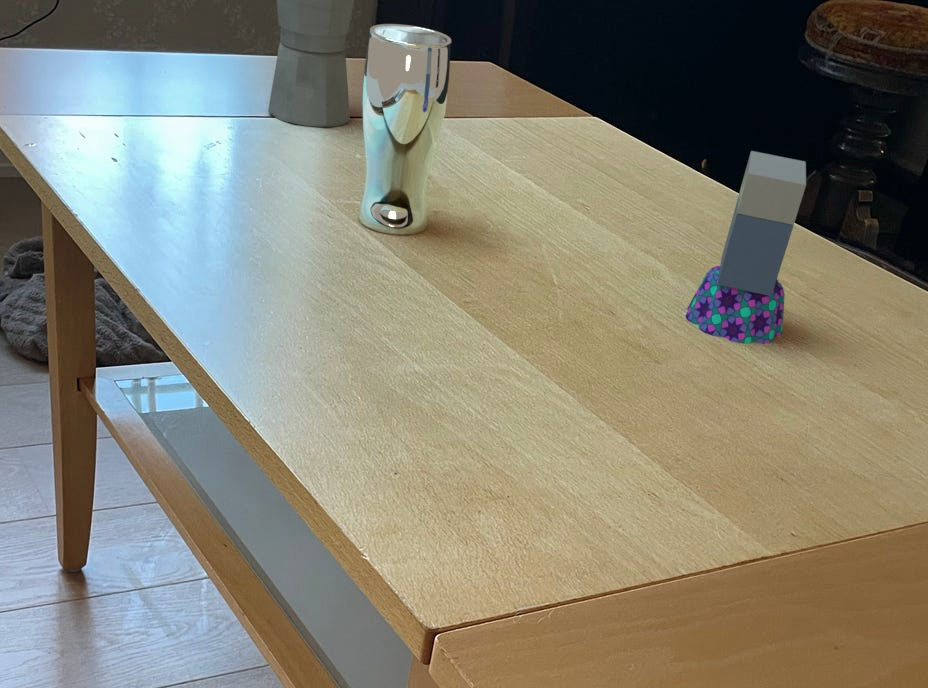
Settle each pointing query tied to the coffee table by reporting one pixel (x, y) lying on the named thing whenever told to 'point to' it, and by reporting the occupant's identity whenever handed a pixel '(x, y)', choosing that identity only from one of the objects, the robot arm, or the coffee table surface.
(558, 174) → the coffee table surface
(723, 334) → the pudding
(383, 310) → the coffee table surface
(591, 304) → the coffee table surface
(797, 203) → the block
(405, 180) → the beer glass
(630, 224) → the coffee table surface
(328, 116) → the coffeepot
